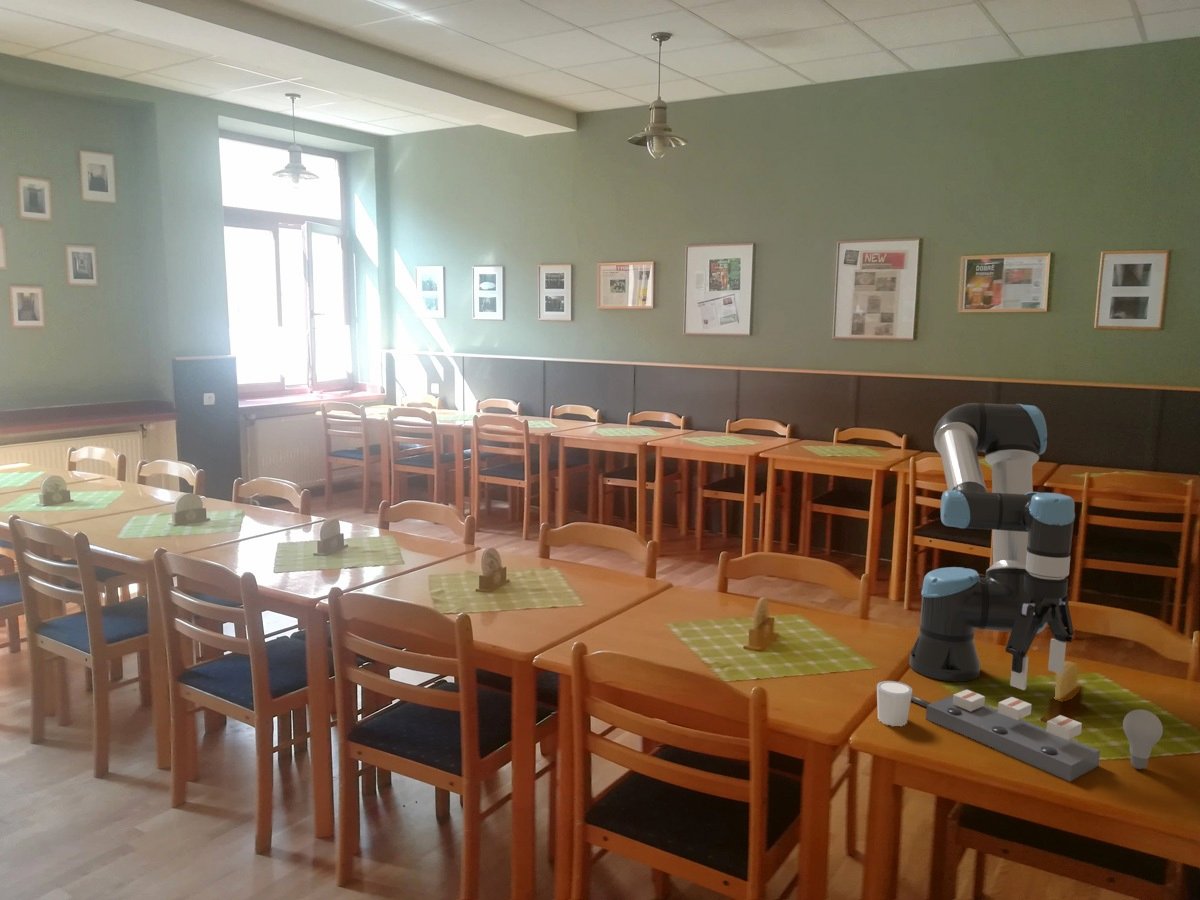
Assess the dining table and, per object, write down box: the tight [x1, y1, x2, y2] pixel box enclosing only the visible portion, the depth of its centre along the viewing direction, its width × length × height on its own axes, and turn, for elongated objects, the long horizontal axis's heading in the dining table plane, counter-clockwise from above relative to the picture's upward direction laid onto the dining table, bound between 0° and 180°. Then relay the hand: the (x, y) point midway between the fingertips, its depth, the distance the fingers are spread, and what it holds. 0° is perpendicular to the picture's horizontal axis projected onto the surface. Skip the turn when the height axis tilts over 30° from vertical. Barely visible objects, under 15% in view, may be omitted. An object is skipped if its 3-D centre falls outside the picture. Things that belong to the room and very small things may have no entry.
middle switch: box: [997, 696, 1033, 720], centre depth 168 cm, size 5×4×2 cm
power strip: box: [911, 694, 1101, 783], centre depth 172 cm, size 10×39×3 cm, turn 35°
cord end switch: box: [952, 689, 986, 711], centre depth 176 cm, size 5×4×2 cm
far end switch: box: [1045, 714, 1083, 740], centre depth 161 cm, size 5×4×2 cm
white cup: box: [876, 680, 913, 727], centre depth 176 cm, size 7×7×7 cm
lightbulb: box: [1122, 709, 1164, 770], centre depth 158 cm, size 6×6×11 cm
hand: (1037, 679), depth 172 cm, fingers open, 13 cm apart
